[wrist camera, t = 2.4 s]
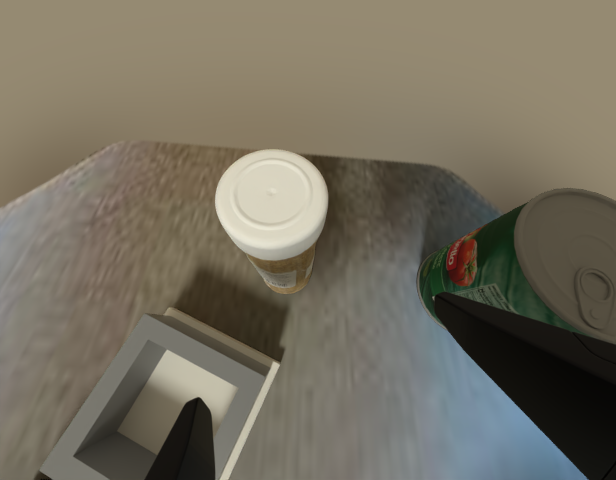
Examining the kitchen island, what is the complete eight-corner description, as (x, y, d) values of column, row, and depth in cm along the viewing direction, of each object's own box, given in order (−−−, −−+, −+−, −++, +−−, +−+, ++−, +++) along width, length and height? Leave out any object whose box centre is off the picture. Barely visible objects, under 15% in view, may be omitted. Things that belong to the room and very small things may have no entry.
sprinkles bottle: (321, 269, 22) (354, 192, 10) (286, 306, 21) (269, 273, 8) (286, 236, 23) (273, 126, 11) (250, 269, 22) (186, 190, 9)
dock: (280, 362, 19) (276, 372, 15) (212, 514, 16) (182, 579, 12) (174, 308, 21) (143, 302, 16) (90, 440, 17) (24, 476, 13)
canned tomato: (427, 236, 24) (528, 165, 13) (508, 268, 23) (680, 220, 13) (405, 313, 21) (508, 299, 11) (495, 353, 20) (698, 378, 10)
